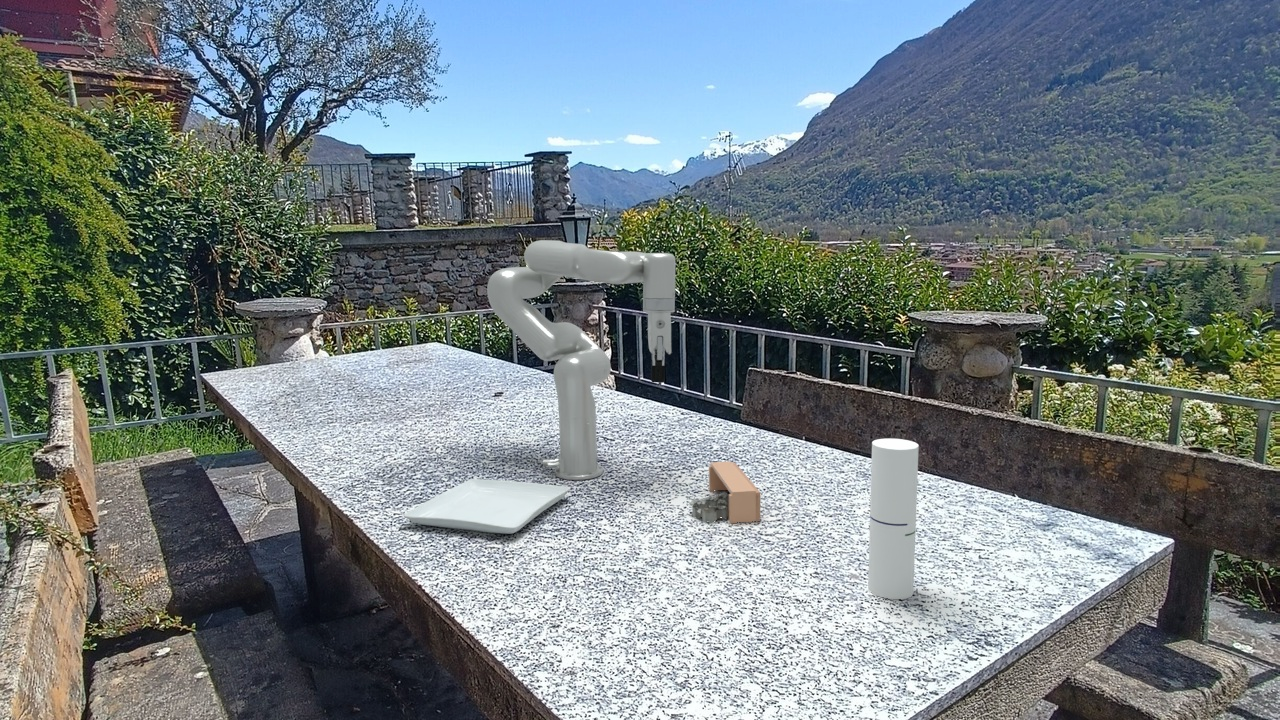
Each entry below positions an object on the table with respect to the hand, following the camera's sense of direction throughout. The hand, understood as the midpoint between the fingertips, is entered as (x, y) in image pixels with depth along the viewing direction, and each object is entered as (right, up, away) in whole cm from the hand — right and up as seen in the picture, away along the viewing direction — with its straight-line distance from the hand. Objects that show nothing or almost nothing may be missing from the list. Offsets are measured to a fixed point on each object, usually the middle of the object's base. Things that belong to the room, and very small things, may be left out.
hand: (657, 381), depth 177 cm
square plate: (-37, -29, -14) cm, 49 cm away
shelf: (+16, -27, -12) cm, 34 cm away
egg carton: (+12, -29, -17) cm, 36 cm away
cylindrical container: (+38, -33, -54) cm, 74 cm away
